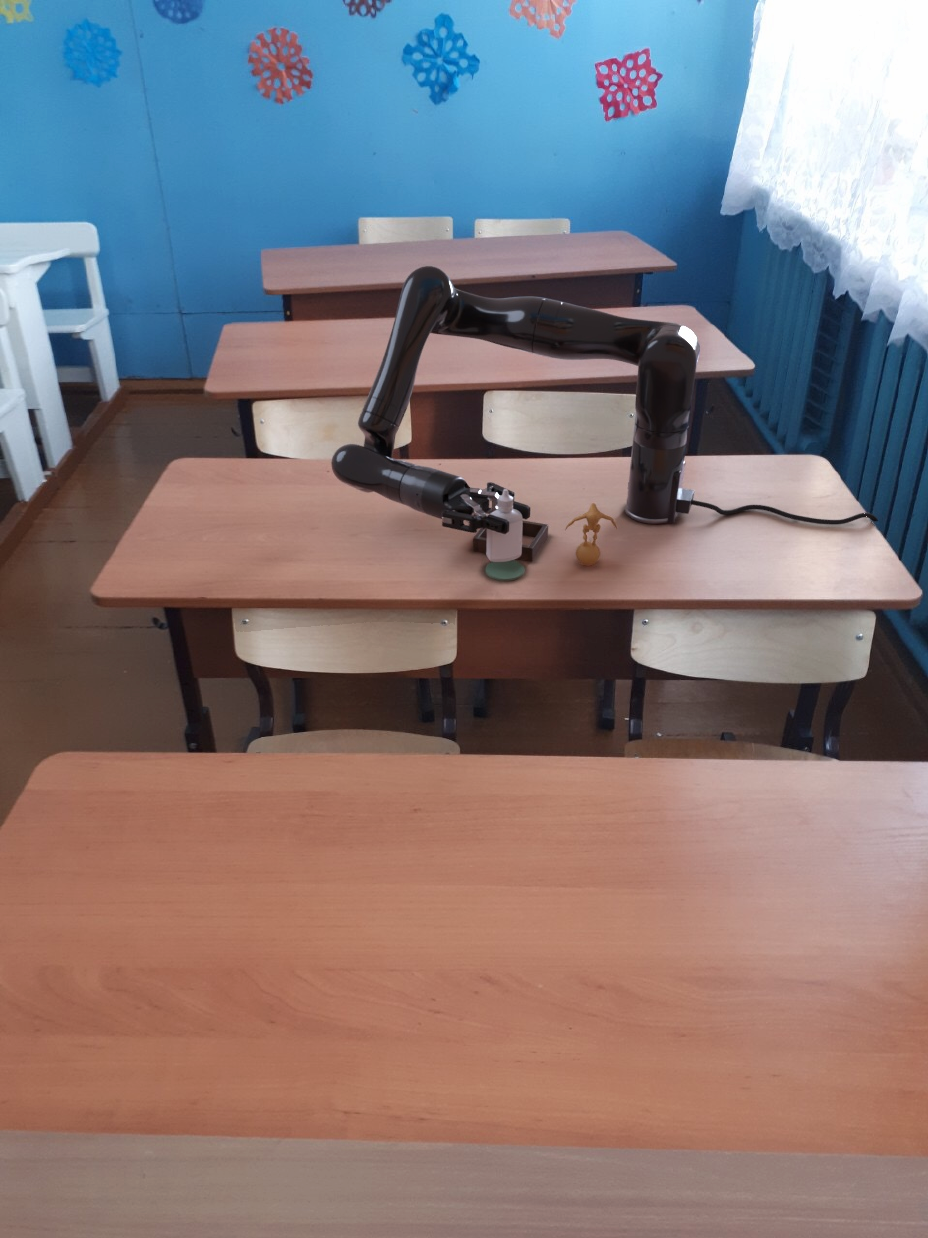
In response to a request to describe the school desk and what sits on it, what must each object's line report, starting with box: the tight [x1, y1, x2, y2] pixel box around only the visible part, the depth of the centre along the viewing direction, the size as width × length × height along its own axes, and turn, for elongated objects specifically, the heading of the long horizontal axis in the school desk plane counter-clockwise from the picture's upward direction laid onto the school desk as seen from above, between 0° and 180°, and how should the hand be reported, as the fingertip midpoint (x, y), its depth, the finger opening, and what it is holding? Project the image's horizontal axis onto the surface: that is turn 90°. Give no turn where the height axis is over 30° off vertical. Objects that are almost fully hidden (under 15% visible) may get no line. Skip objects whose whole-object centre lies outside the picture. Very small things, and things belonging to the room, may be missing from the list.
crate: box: [472, 520, 549, 562], centre depth 150 cm, size 11×9×2 cm
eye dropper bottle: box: [485, 488, 524, 562], centre depth 139 cm, size 4×6×12 cm
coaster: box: [485, 559, 525, 582], centre depth 143 cm, size 6×6×1 cm
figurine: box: [564, 502, 618, 567], centre depth 141 cm, size 8×6×12 cm
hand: (518, 520), depth 137 cm, fingers closed on eye dropper bottle, 5 cm apart
